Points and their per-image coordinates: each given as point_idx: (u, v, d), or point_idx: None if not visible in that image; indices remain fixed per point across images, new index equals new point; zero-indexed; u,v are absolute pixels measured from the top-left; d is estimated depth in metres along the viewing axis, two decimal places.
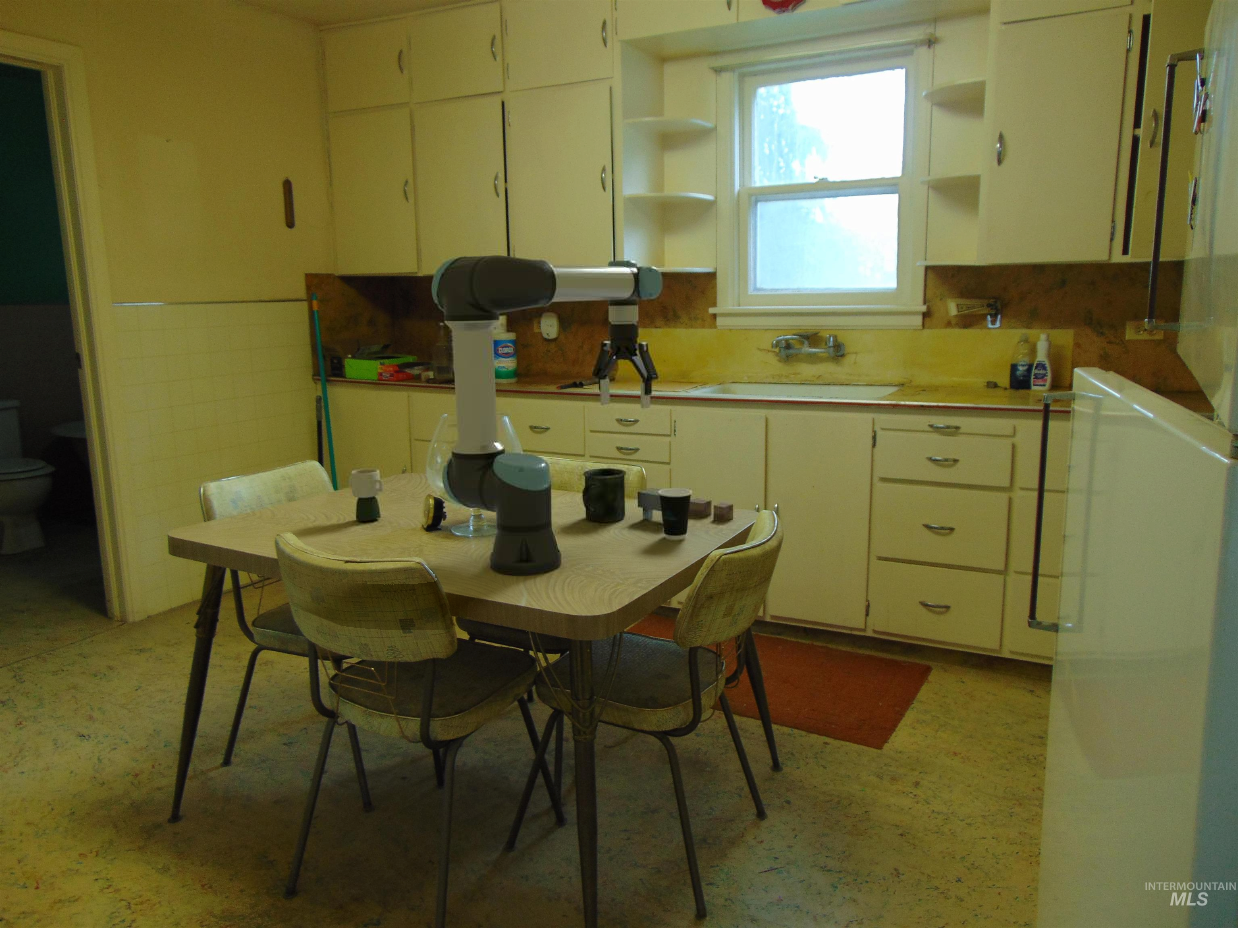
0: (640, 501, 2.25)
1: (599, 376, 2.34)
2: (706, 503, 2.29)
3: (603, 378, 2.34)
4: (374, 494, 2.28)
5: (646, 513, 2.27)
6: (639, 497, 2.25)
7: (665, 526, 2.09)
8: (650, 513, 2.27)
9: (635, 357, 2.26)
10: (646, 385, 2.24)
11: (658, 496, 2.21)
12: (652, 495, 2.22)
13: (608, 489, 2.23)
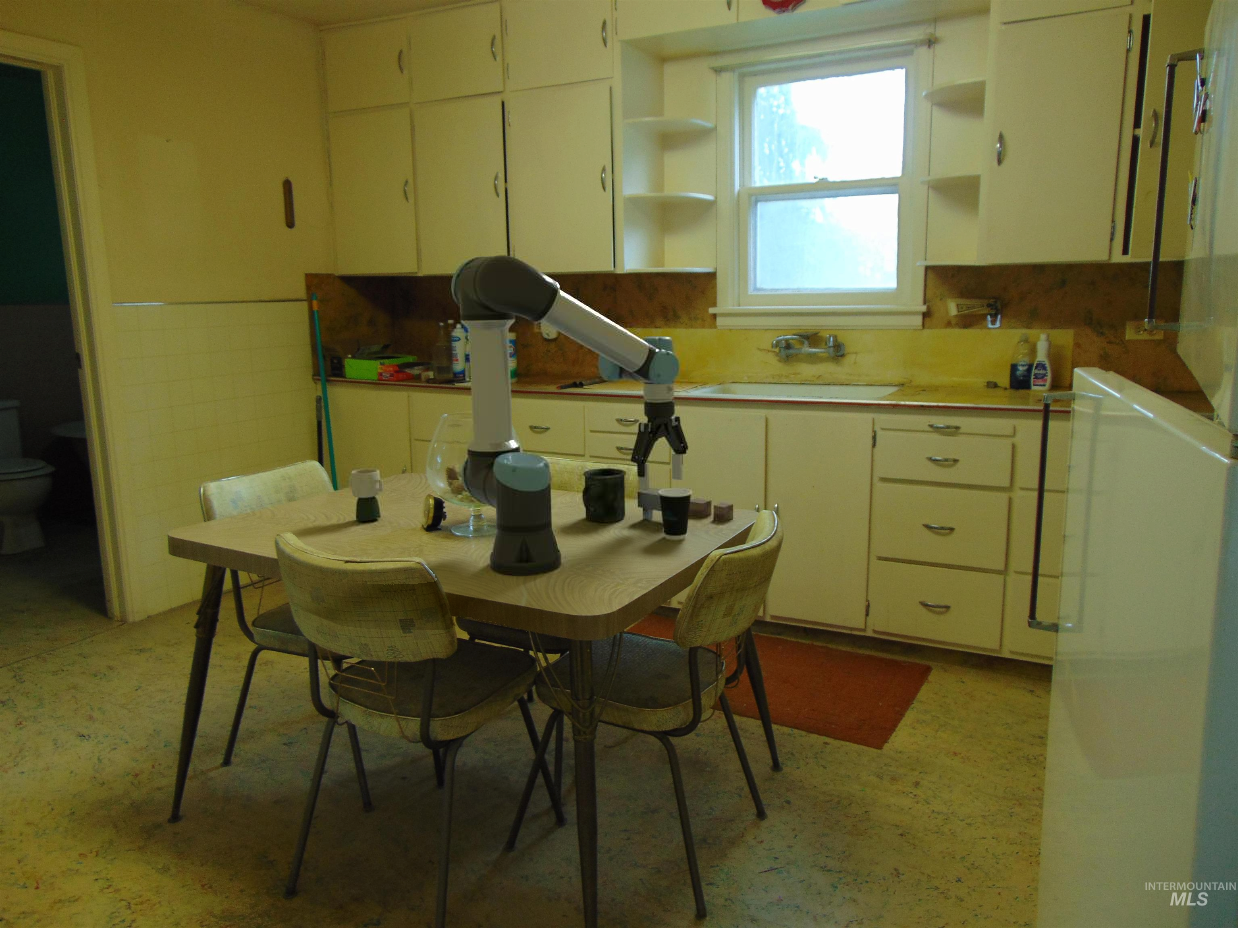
0: (640, 501, 2.25)
1: None
2: (706, 503, 2.29)
3: (677, 452, 2.28)
4: (374, 494, 2.28)
5: (646, 513, 2.27)
6: (639, 497, 2.25)
7: (665, 526, 2.09)
8: (650, 513, 2.27)
9: (649, 436, 2.19)
10: None
11: (658, 496, 2.21)
12: (652, 495, 2.22)
13: (608, 489, 2.23)
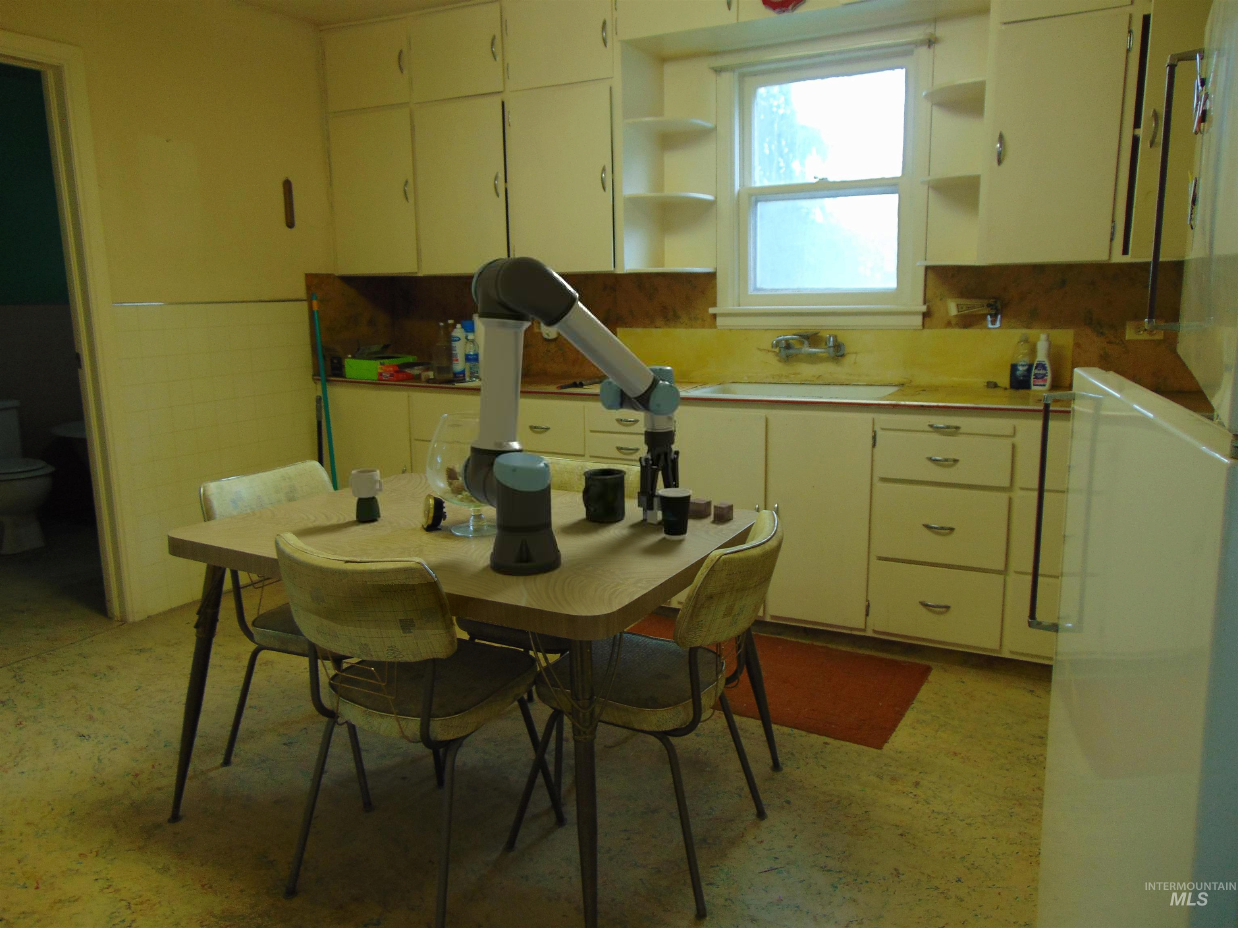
0: (640, 501, 2.25)
1: None
2: (706, 503, 2.29)
3: None
4: (374, 494, 2.28)
5: (646, 512, 2.27)
6: (639, 497, 2.25)
7: (665, 526, 2.09)
8: None
9: (652, 468, 2.21)
10: None
11: (658, 496, 2.21)
12: None
13: (608, 489, 2.23)
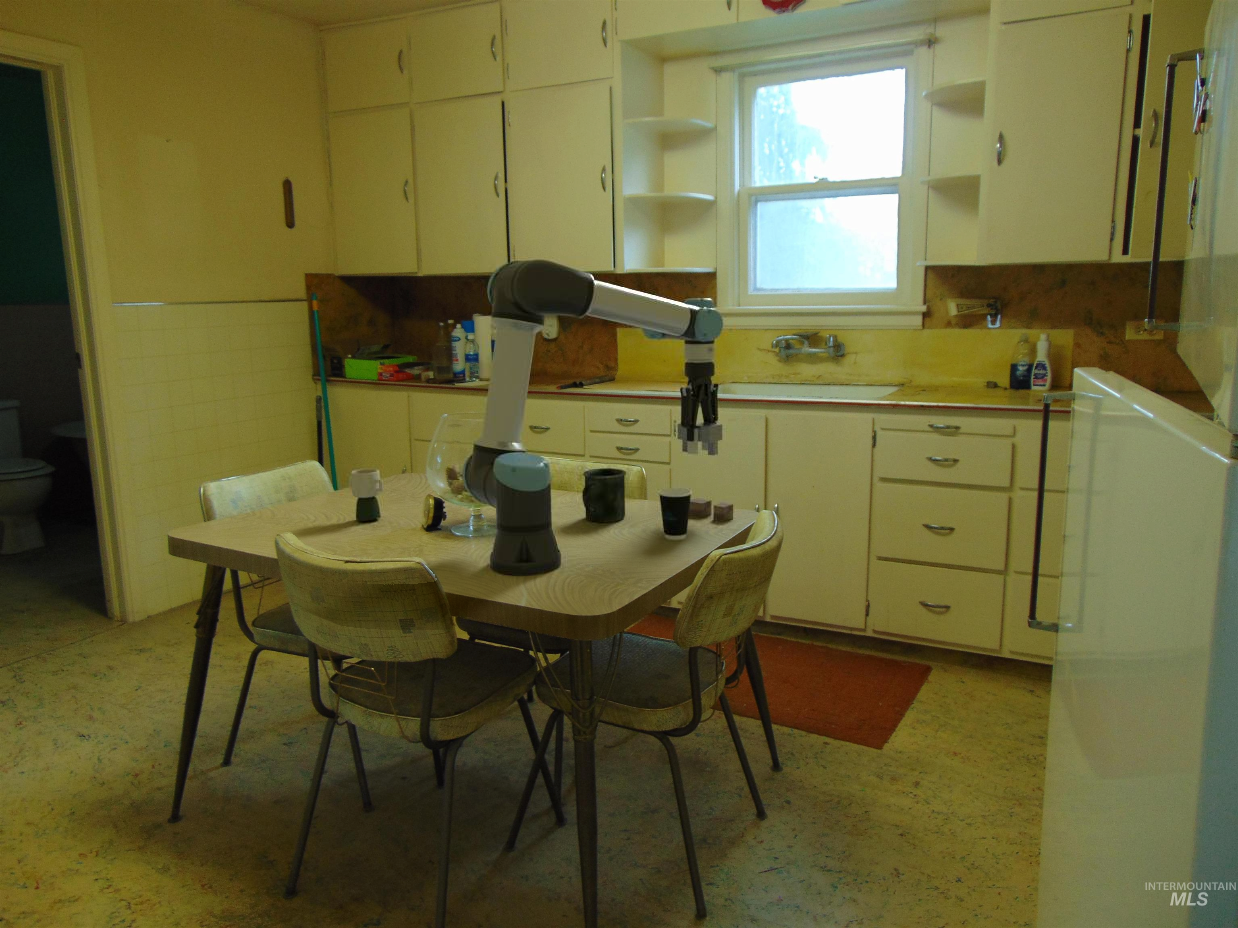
0: (680, 433, 2.28)
1: None
2: (706, 503, 2.29)
3: None
4: (374, 494, 2.28)
5: (686, 445, 2.30)
6: (679, 429, 2.28)
7: (665, 526, 2.09)
8: None
9: (692, 399, 2.24)
10: None
11: (699, 427, 2.24)
12: None
13: (608, 489, 2.23)
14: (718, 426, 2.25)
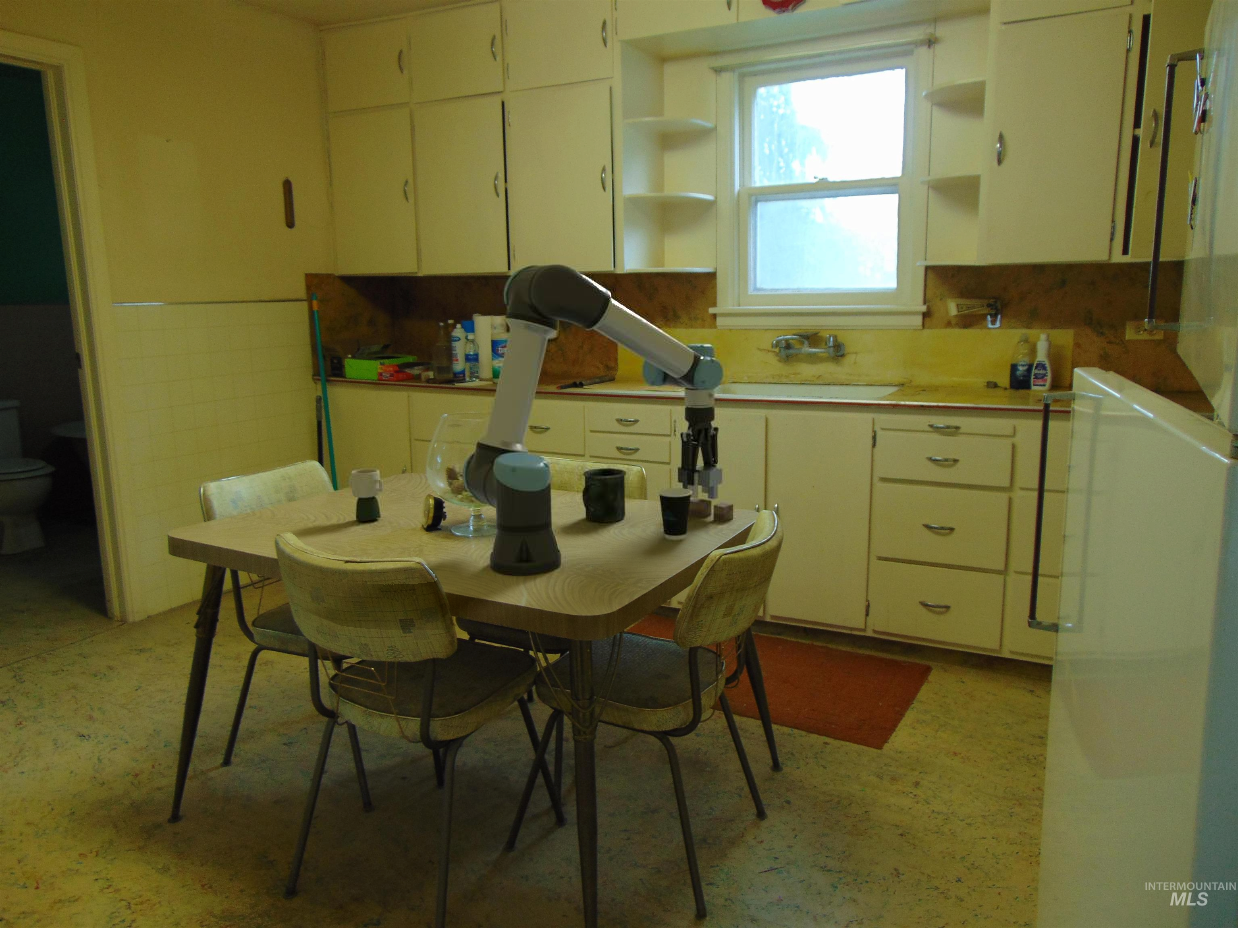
0: (680, 476, 2.30)
1: None
2: (706, 503, 2.29)
3: None
4: (374, 494, 2.28)
5: (686, 488, 2.32)
6: (679, 472, 2.30)
7: (665, 526, 2.09)
8: None
9: (692, 444, 2.26)
10: None
11: (699, 471, 2.26)
12: None
13: (608, 489, 2.23)
14: (718, 470, 2.27)
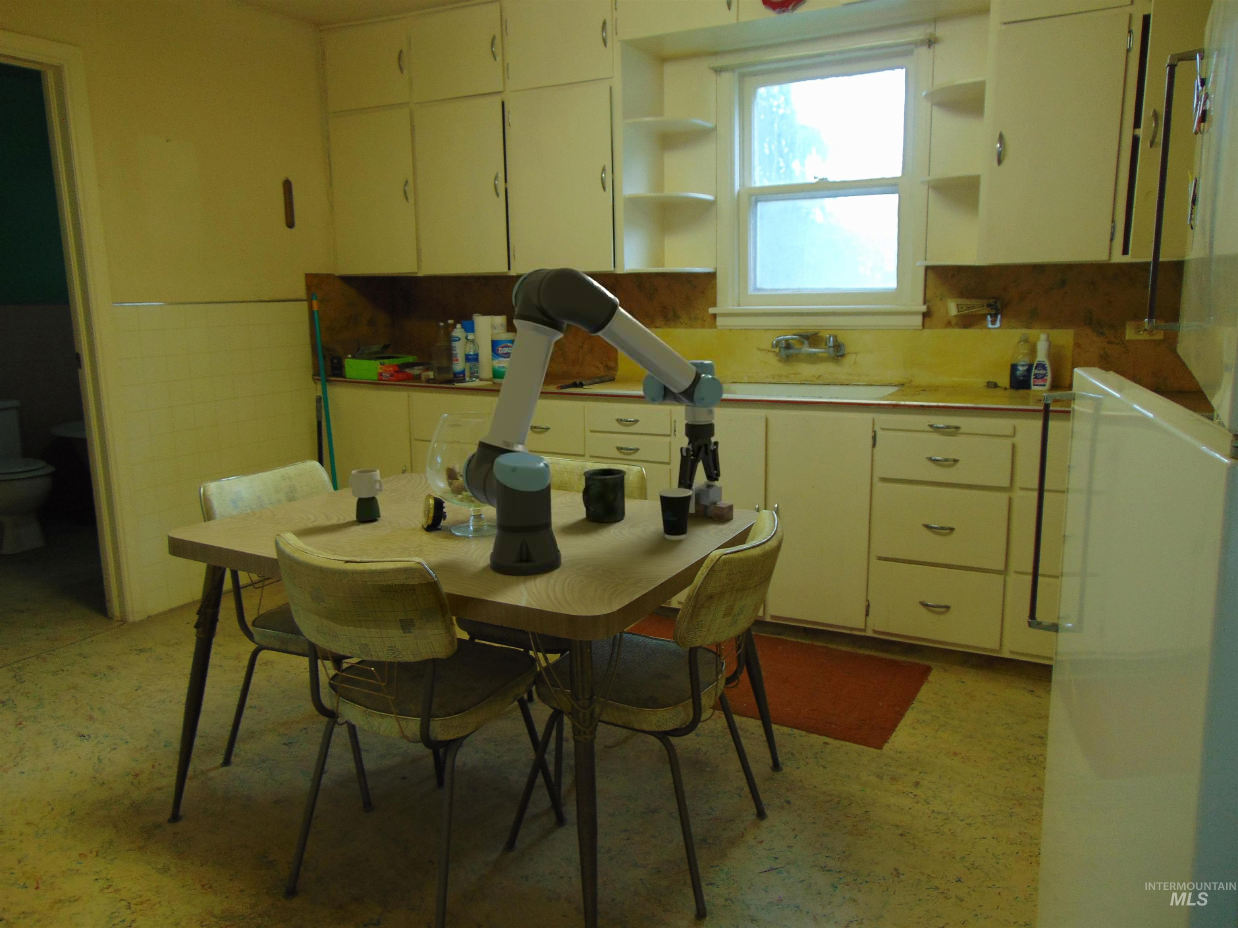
0: None
1: None
2: None
3: (709, 480, 2.34)
4: (374, 494, 2.28)
5: None
6: None
7: (665, 526, 2.09)
8: None
9: (691, 459, 2.27)
10: None
11: (698, 489, 2.27)
12: None
13: (608, 489, 2.23)
14: (718, 488, 2.28)
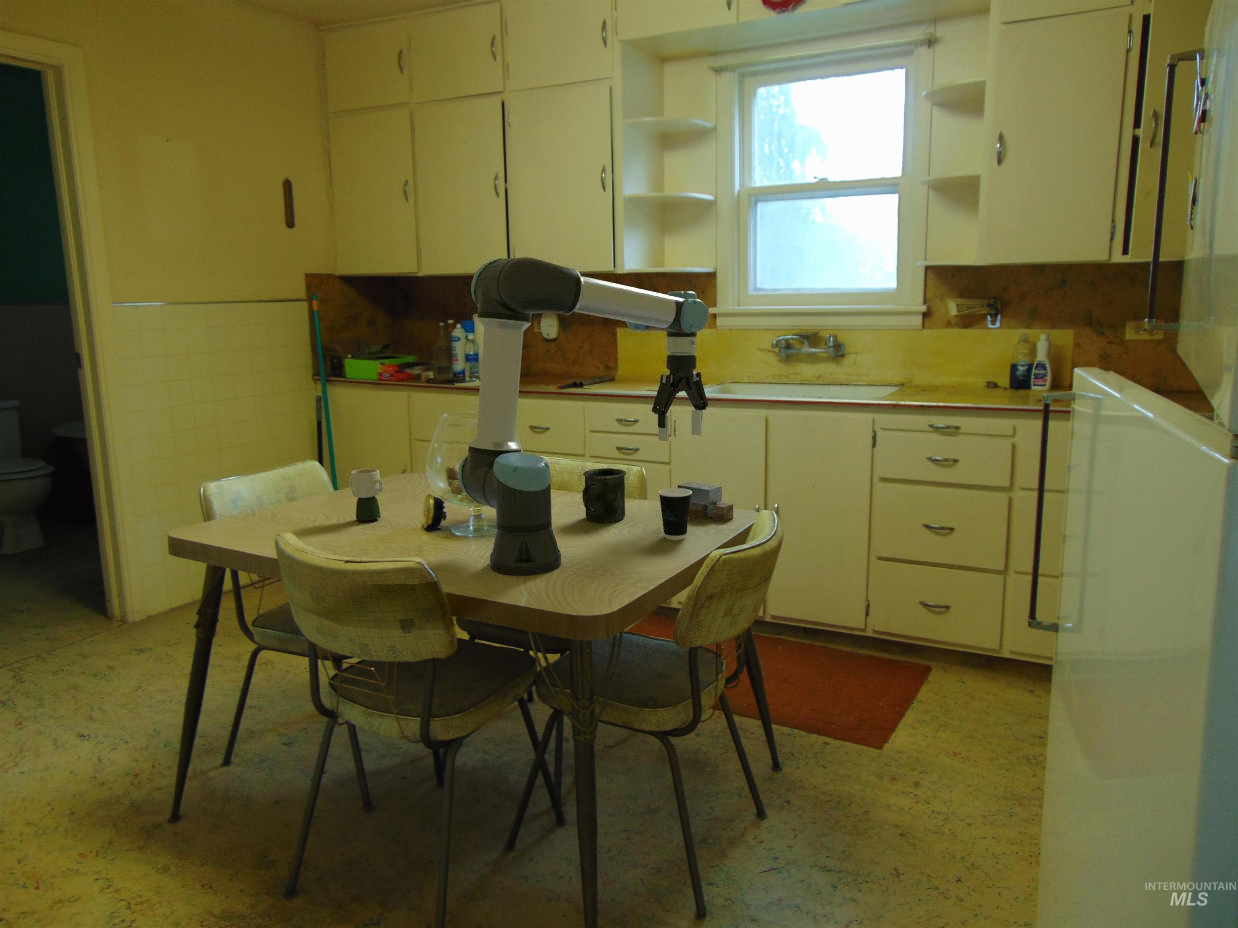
0: None
1: None
2: None
3: (697, 408, 2.32)
4: (374, 494, 2.28)
5: None
6: None
7: (665, 526, 2.09)
8: None
9: (670, 389, 2.23)
10: None
11: (698, 489, 2.27)
12: (692, 488, 2.28)
13: (608, 489, 2.23)
14: (718, 488, 2.28)
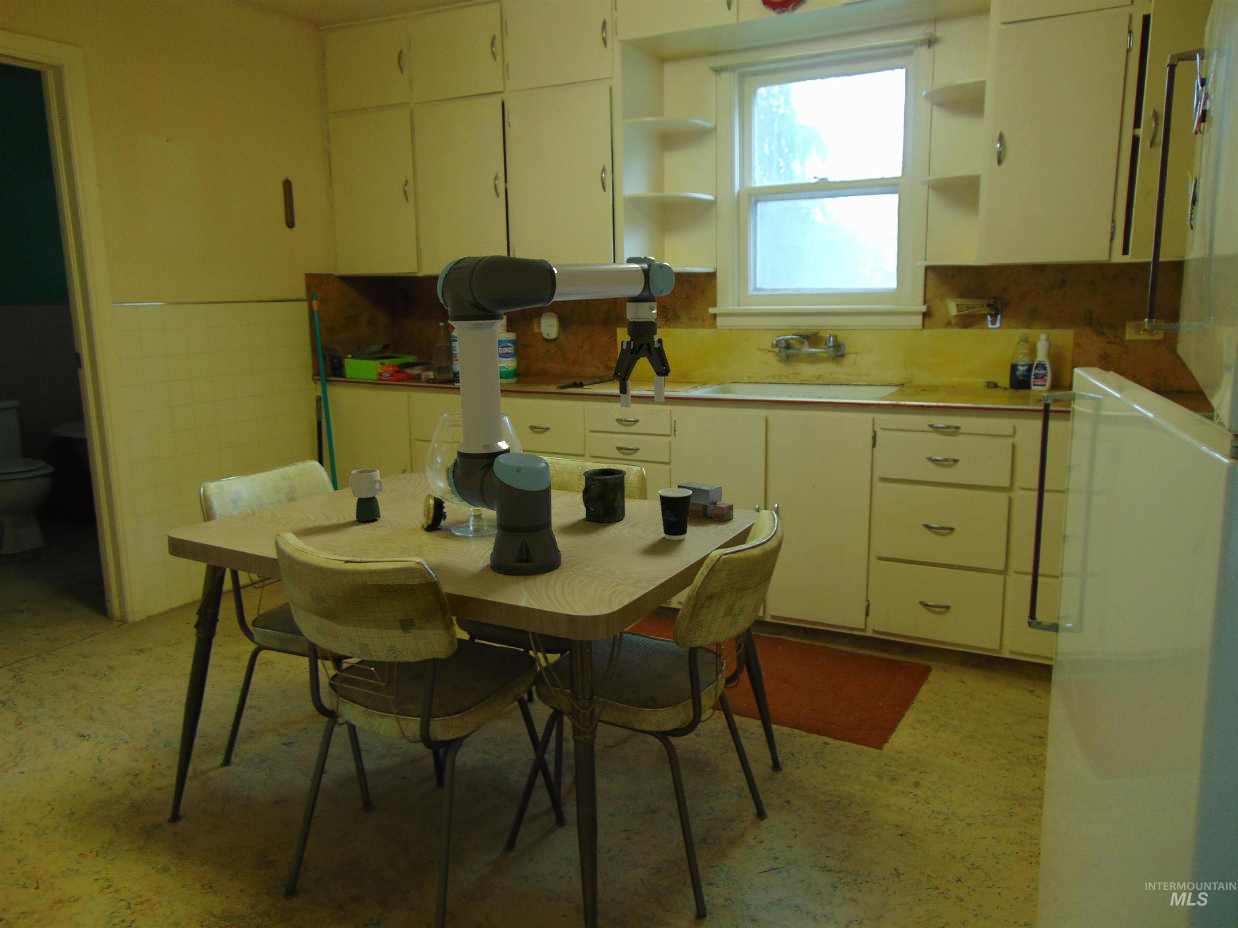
0: None
1: None
2: None
3: (659, 375, 2.32)
4: (374, 494, 2.28)
5: None
6: None
7: (665, 526, 2.09)
8: None
9: (631, 355, 2.23)
10: None
11: (698, 489, 2.27)
12: (692, 488, 2.28)
13: (608, 489, 2.23)
14: (718, 488, 2.28)
